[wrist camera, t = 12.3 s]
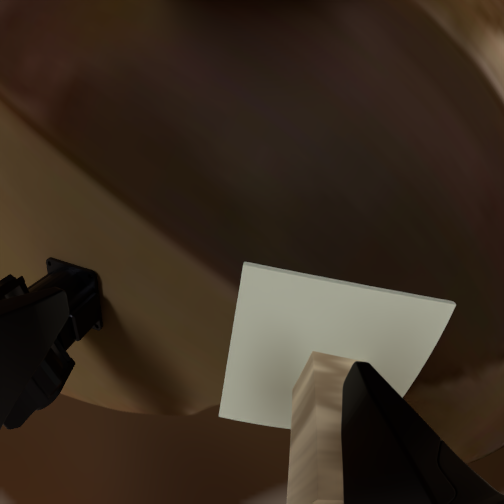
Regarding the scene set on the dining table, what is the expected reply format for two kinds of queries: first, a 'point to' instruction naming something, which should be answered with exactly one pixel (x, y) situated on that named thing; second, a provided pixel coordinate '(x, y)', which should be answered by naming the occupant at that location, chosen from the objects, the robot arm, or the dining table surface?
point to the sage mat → (319, 336)
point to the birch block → (317, 431)
